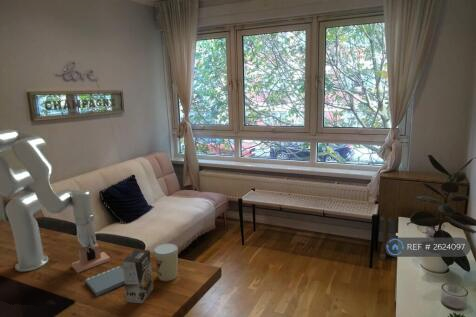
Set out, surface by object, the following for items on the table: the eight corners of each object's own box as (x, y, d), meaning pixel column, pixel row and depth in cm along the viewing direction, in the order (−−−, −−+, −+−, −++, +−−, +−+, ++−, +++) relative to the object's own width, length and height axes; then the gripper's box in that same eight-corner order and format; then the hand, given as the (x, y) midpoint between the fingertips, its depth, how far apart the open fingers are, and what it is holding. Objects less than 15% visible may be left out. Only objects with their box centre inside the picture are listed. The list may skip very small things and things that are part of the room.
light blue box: (85, 283, 130) (85, 279, 130) (120, 269, 139) (119, 265, 139) (96, 296, 121) (96, 292, 121) (132, 280, 131) (132, 276, 130)
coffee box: (142, 303, 116) (138, 262, 113) (126, 302, 118) (121, 261, 114) (154, 288, 125) (150, 249, 122) (138, 287, 126) (134, 248, 123)
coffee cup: (154, 272, 136) (151, 246, 133) (176, 267, 139) (174, 241, 137) (158, 284, 128) (155, 256, 125) (182, 278, 131) (179, 250, 128)
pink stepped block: (71, 266, 143) (69, 250, 141) (104, 254, 152) (102, 239, 150) (77, 273, 138) (74, 256, 136) (110, 260, 147) (108, 245, 145)
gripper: (69, 216, 144) (75, 254, 148) (81, 227, 132) (87, 268, 136) (87, 211, 149) (92, 248, 153) (100, 221, 137) (105, 261, 141)
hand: (90, 257), depth 145 cm, fingers closed on pink stepped block, 3 cm apart
